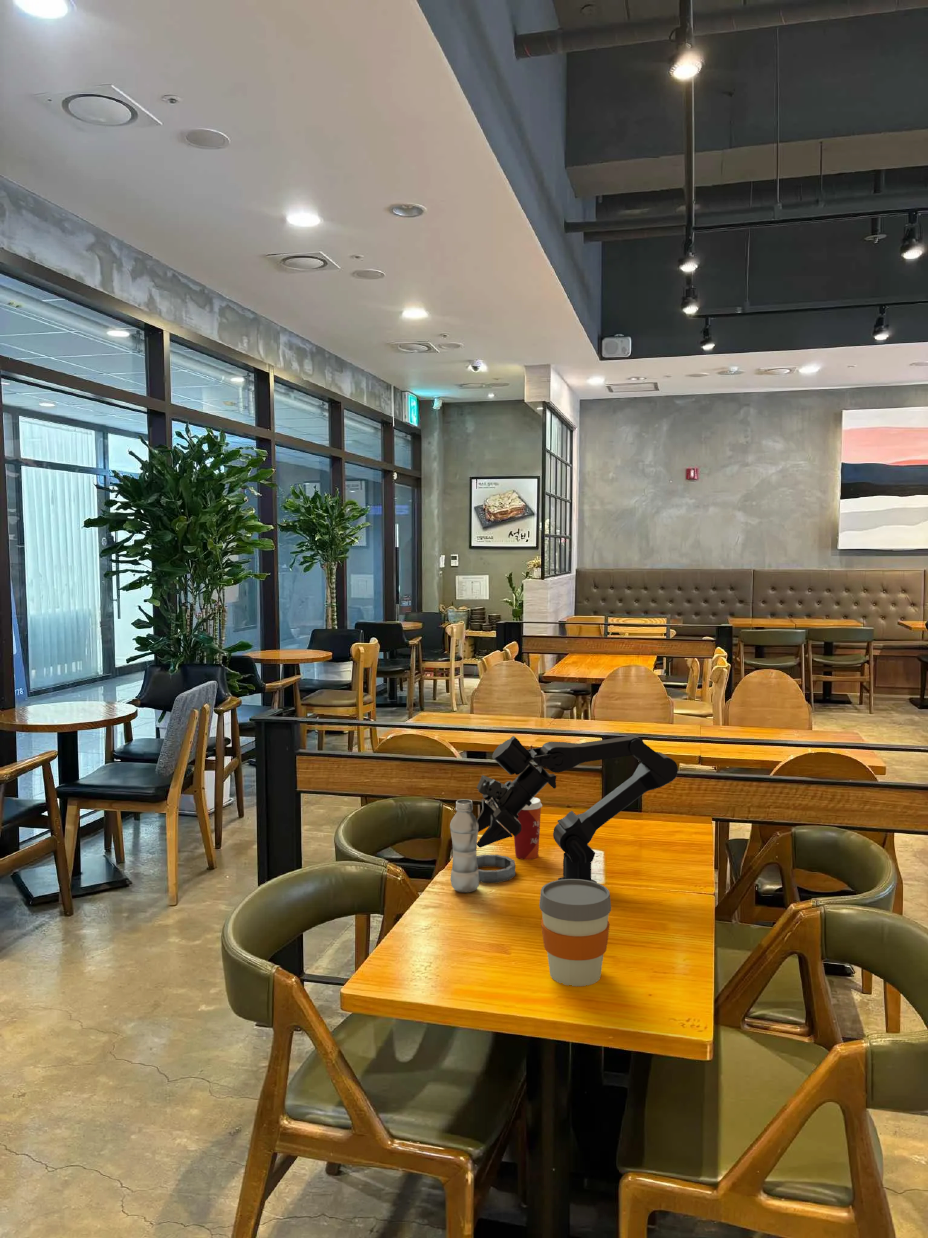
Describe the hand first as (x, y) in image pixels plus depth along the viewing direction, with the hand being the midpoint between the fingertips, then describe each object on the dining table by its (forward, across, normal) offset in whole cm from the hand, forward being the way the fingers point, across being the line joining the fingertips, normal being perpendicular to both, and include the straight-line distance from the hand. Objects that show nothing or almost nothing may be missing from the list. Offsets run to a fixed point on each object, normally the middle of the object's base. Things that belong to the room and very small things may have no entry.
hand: (475, 839), depth 195 cm
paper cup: (-3, -20, +19) cm, 28 cm away
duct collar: (+4, -9, +12) cm, 15 cm away
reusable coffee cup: (0, +42, +16) cm, 45 cm away
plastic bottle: (+10, 0, +7) cm, 12 cm away
